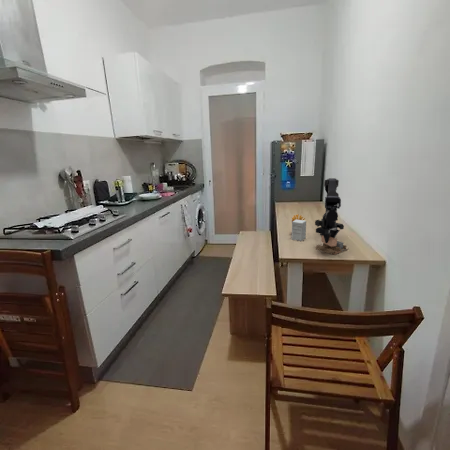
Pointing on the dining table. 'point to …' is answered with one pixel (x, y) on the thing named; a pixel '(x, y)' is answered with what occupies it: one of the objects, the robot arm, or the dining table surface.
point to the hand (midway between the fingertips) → (328, 242)
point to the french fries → (297, 217)
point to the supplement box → (298, 230)
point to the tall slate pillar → (340, 245)
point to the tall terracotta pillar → (330, 241)
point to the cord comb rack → (331, 249)
